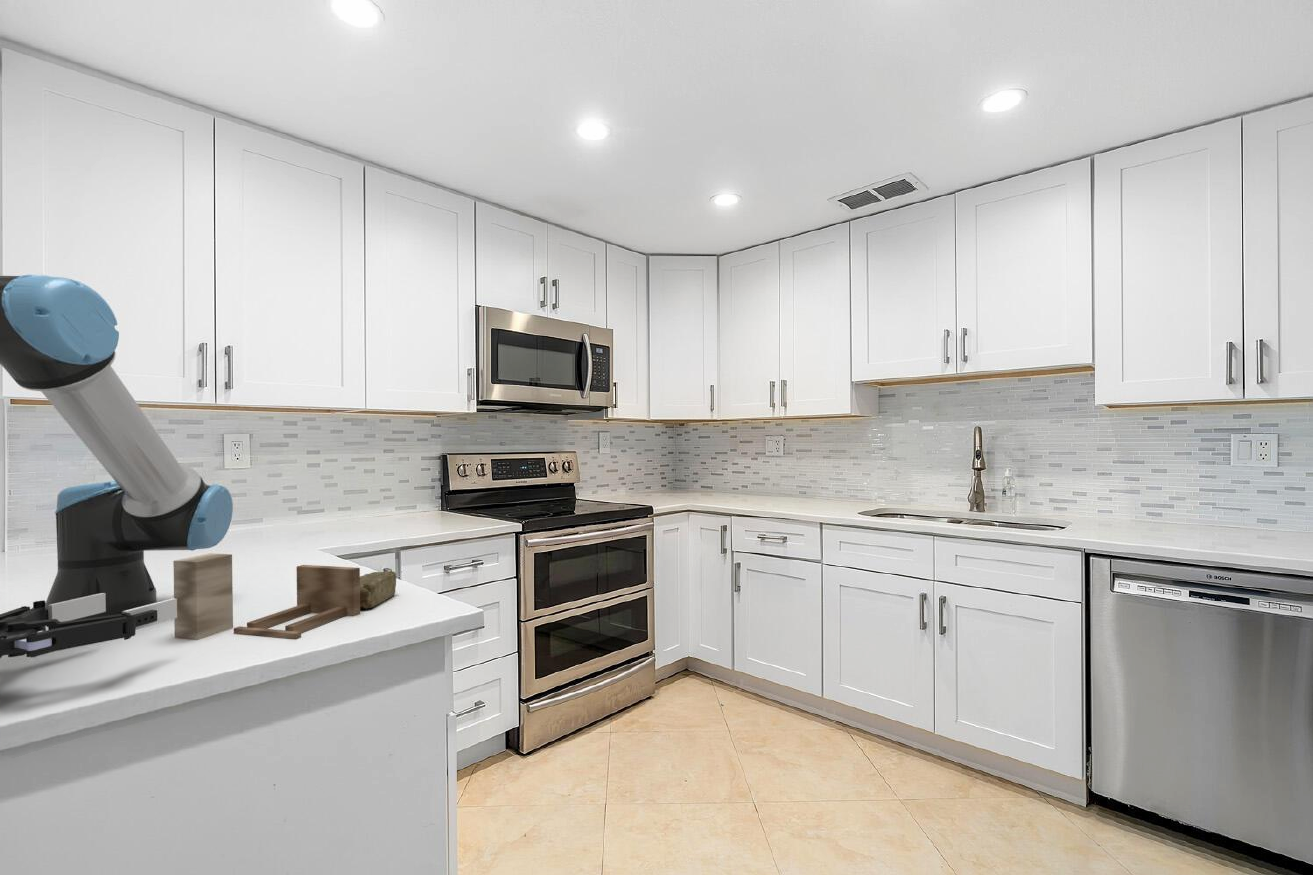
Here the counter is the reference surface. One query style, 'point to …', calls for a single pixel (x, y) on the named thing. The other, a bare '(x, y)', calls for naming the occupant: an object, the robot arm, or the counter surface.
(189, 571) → the light wooden block
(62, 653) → the counter surface
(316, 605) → the wooden book stand
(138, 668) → the counter surface
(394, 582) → the stone block
